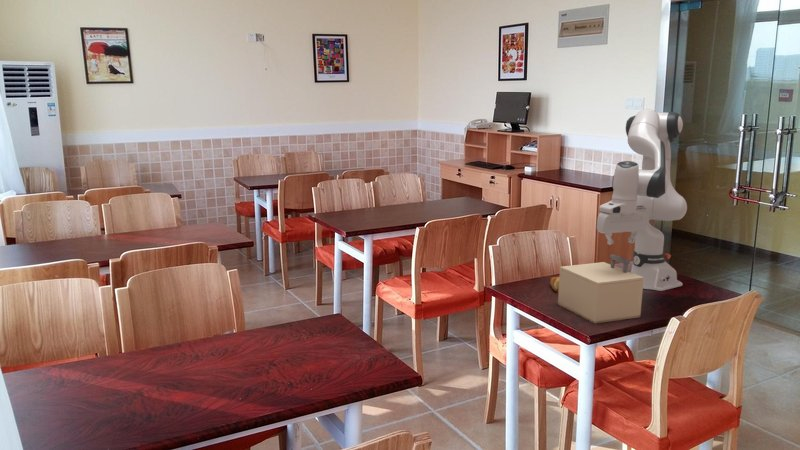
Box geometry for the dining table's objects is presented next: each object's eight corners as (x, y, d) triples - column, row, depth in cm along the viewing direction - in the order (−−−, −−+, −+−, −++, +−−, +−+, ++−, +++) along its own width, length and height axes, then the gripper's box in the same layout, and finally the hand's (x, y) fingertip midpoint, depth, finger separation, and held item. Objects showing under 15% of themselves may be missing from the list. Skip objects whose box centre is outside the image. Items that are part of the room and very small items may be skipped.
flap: (603, 264, 253) (604, 249, 252) (643, 279, 233) (645, 263, 232) (560, 268, 246) (561, 253, 245) (597, 285, 226) (598, 268, 225)
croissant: (585, 307, 257) (594, 289, 257) (566, 298, 253) (576, 279, 253) (555, 290, 277) (564, 273, 276) (537, 281, 273) (546, 264, 272)
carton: (600, 298, 256) (603, 264, 253) (640, 317, 236) (643, 279, 233) (557, 304, 249) (560, 268, 246) (594, 323, 229) (597, 285, 226)
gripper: (640, 203, 244) (637, 240, 247) (595, 206, 237) (592, 243, 239) (652, 206, 238) (649, 243, 241) (606, 209, 231) (603, 247, 234)
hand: (620, 243), depth 240 cm, fingers open, 8 cm apart
